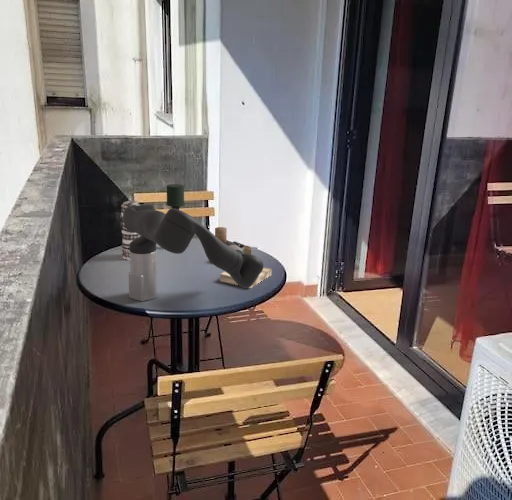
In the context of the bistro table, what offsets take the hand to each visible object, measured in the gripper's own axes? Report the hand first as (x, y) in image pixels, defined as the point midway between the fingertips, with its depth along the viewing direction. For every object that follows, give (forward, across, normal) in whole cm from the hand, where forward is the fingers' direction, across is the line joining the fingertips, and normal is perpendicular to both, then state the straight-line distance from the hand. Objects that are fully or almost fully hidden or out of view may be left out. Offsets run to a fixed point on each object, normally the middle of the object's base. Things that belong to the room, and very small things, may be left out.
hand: (218, 242), depth 183 cm
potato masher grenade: (+52, -6, -17) cm, 55 cm away
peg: (-3, 0, -8) cm, 8 cm away
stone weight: (+28, +15, -18) cm, 37 cm away
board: (+6, +13, -18) cm, 23 cm away
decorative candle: (+43, -27, -17) cm, 54 cm away
